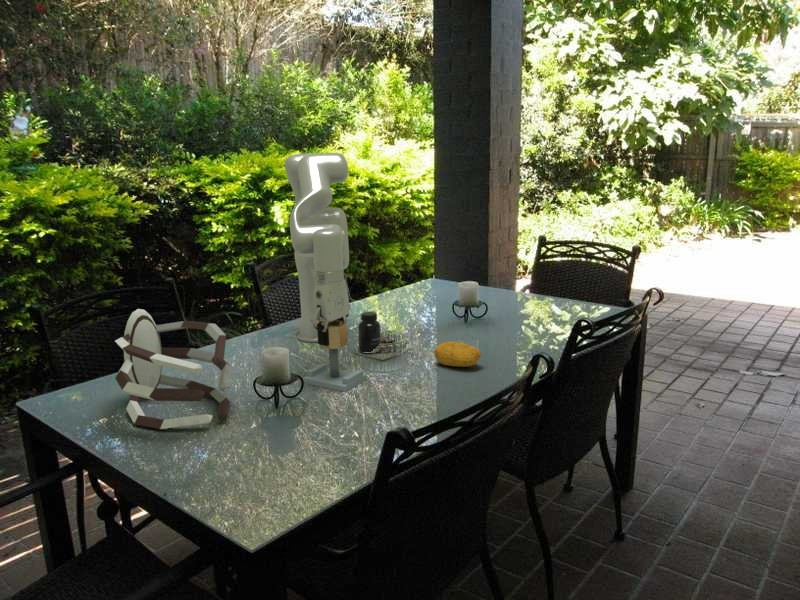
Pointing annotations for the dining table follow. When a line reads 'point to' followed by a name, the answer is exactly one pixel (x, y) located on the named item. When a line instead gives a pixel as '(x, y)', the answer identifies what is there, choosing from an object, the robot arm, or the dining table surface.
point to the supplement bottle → (369, 332)
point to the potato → (457, 354)
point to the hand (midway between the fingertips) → (332, 340)
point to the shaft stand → (334, 375)
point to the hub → (336, 334)
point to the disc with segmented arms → (149, 357)
